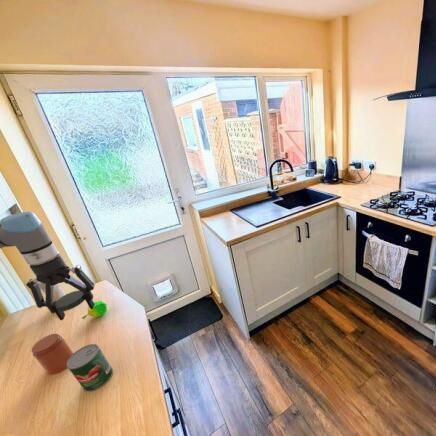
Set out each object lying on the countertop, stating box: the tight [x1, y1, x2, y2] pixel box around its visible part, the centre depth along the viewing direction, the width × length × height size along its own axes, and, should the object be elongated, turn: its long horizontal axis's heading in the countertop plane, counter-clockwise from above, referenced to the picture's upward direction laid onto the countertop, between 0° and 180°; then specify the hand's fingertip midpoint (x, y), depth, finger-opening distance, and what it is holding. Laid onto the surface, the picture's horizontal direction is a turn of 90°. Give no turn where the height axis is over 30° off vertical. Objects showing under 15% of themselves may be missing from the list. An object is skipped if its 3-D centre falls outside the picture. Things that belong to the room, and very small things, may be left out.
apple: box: [81, 300, 108, 321], centre depth 102 cm, size 7×6×9 cm
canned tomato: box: [67, 343, 114, 393], centre depth 75 cm, size 8×8×11 cm
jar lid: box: [55, 290, 85, 312], centre depth 85 cm, size 8×8×2 cm
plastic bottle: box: [34, 274, 67, 302], centre depth 108 cm, size 6×7×20 cm
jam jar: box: [31, 333, 75, 376], centre depth 82 cm, size 8×8×11 cm
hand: (78, 312), depth 88 cm, fingers closed on jar lid, 8 cm apart
